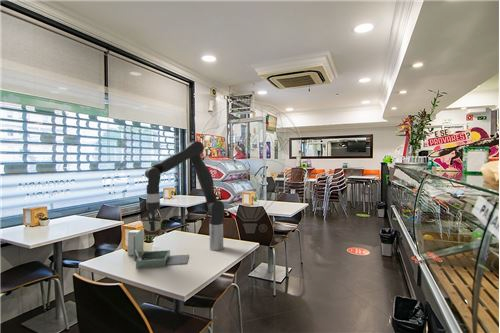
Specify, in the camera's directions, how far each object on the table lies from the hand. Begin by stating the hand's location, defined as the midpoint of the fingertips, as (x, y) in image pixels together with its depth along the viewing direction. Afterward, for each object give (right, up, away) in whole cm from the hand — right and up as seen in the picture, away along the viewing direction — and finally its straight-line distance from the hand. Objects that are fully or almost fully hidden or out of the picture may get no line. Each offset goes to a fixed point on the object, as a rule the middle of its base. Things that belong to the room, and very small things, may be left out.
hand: (153, 229), depth 155 cm
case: (0, -20, 0) cm, 20 cm away
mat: (+14, -19, +3) cm, 24 cm away
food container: (0, -3, +1) cm, 3 cm away
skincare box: (-17, -20, +15) cm, 30 cm away
